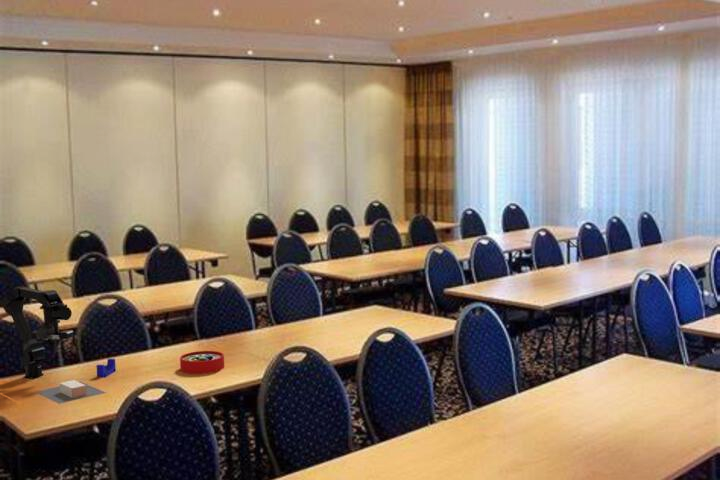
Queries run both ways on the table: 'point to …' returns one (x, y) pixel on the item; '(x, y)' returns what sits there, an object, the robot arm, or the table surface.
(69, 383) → the cream block
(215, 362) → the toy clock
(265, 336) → the table surface
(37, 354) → the robot arm
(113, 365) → the cable clip
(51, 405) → the table surface
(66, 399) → the rubber mat
